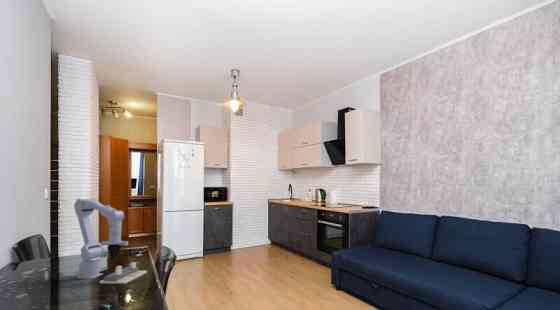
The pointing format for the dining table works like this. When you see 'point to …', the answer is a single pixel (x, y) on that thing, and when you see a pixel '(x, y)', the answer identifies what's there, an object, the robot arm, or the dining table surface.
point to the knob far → (132, 265)
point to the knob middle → (118, 267)
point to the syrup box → (104, 259)
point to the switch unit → (123, 276)
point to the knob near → (118, 272)
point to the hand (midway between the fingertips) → (113, 259)
